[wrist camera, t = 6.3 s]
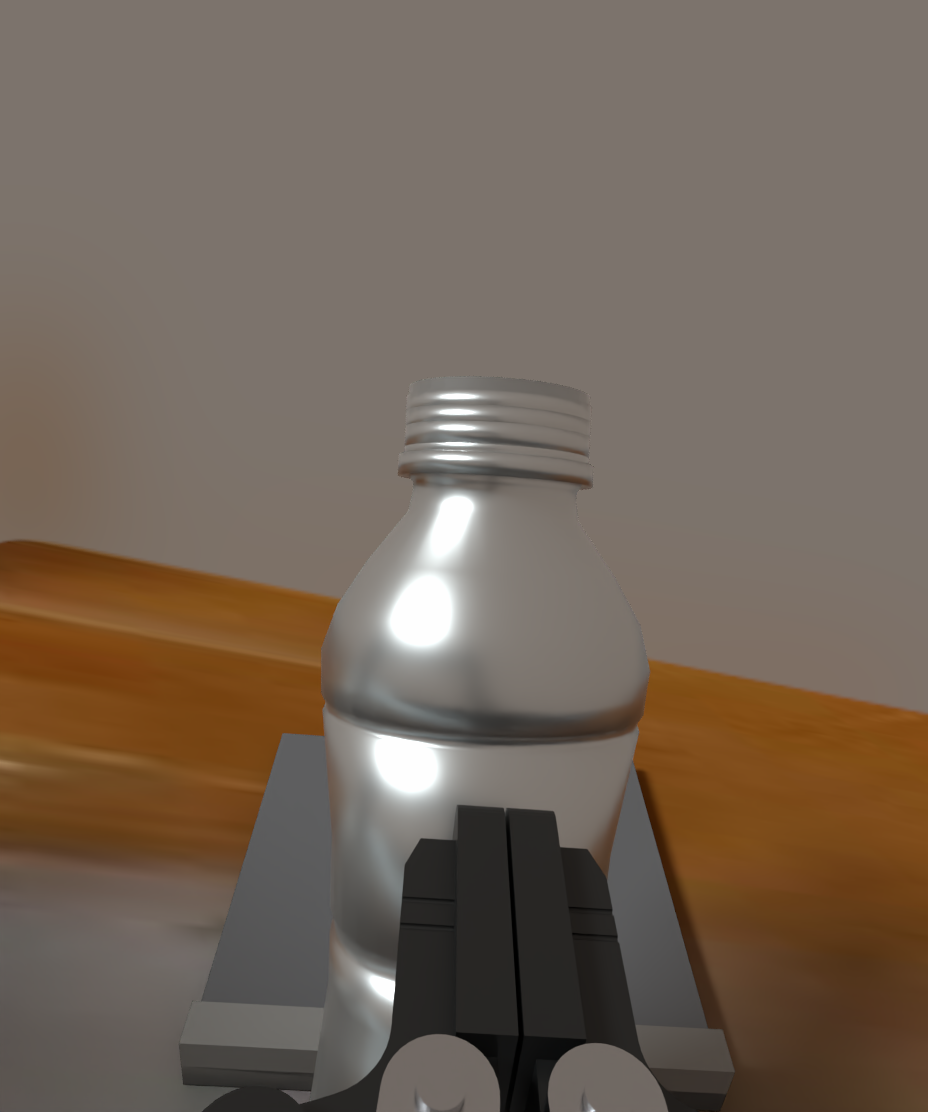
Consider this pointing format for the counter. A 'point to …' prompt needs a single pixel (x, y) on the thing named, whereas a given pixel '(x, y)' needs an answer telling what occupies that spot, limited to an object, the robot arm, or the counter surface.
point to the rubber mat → (304, 935)
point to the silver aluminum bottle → (469, 674)
